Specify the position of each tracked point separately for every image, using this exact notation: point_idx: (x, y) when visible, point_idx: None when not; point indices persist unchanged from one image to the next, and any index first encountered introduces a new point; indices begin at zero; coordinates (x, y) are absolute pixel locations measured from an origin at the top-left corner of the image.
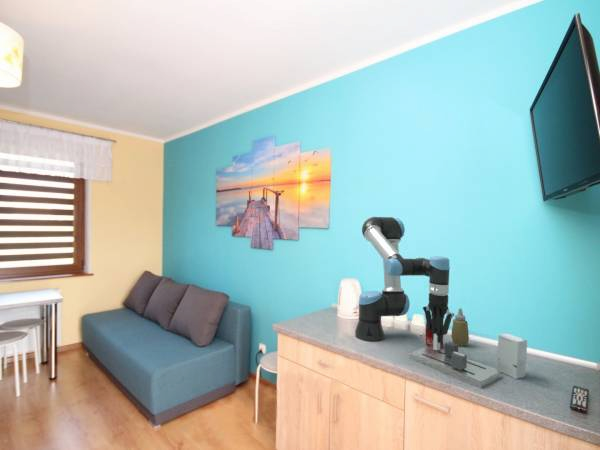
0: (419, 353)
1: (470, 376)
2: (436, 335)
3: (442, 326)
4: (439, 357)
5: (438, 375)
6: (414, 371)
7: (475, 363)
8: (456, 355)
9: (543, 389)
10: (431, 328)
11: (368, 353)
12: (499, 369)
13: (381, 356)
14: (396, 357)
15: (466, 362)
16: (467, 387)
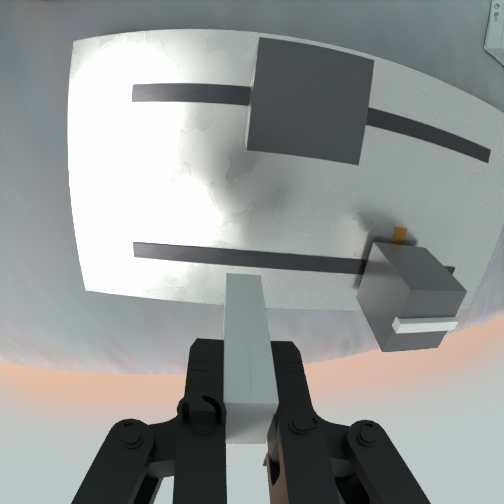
0: (115, 253)
1: None
2: (258, 436)
3: None
4: (237, 202)
5: (302, 329)
6: None
7: (445, 112)
8: (412, 349)
9: None
10: (168, 475)
11: (18, 346)
12: (499, 57)
13: (47, 339)
14: (68, 307)
15: (441, 266)
16: None
